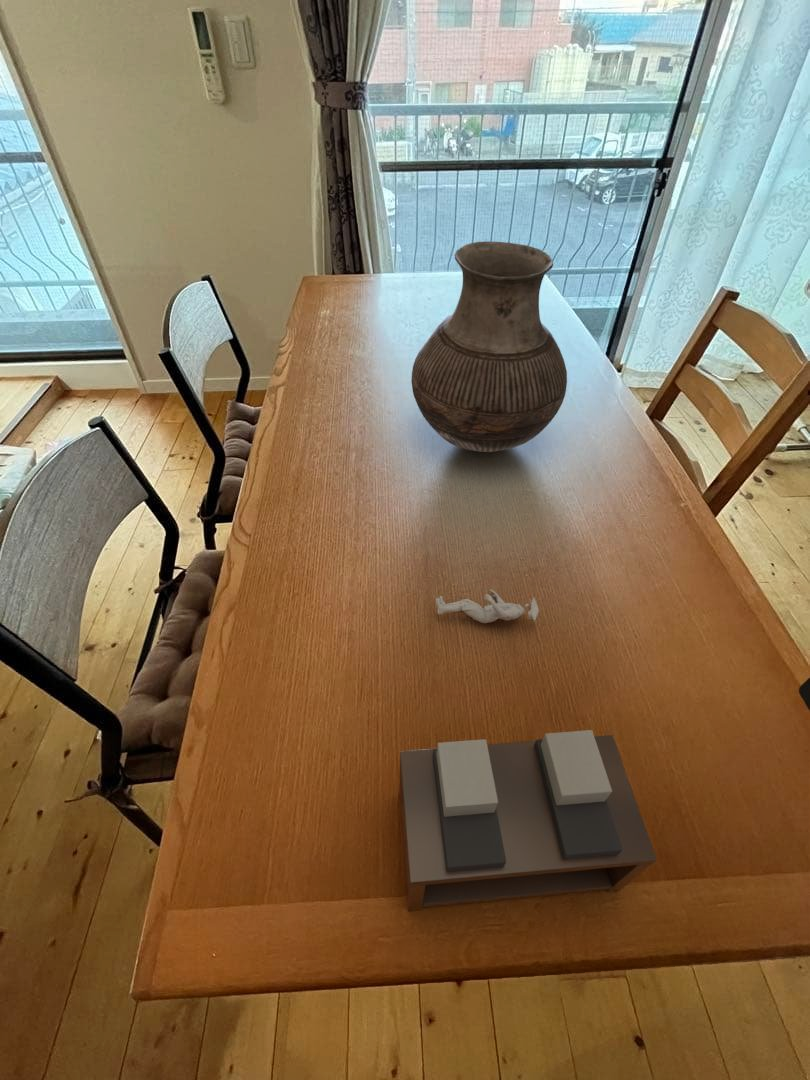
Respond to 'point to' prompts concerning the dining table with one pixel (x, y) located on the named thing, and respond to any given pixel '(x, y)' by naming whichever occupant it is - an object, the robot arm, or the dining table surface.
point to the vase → (492, 354)
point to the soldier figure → (488, 609)
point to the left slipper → (468, 806)
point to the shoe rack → (515, 833)
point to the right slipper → (577, 794)
